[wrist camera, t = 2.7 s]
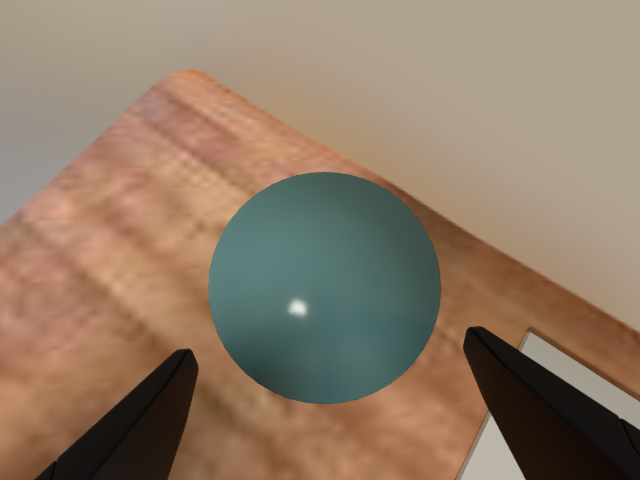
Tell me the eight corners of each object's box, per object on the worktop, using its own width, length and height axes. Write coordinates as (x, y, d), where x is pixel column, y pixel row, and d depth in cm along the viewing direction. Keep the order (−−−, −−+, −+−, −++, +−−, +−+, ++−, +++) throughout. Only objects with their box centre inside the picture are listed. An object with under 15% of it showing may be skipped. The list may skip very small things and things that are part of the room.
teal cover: (373, 366, 17) (440, 424, 7) (265, 350, 18) (179, 382, 7) (380, 260, 20) (441, 183, 9) (284, 248, 20) (237, 162, 10)
